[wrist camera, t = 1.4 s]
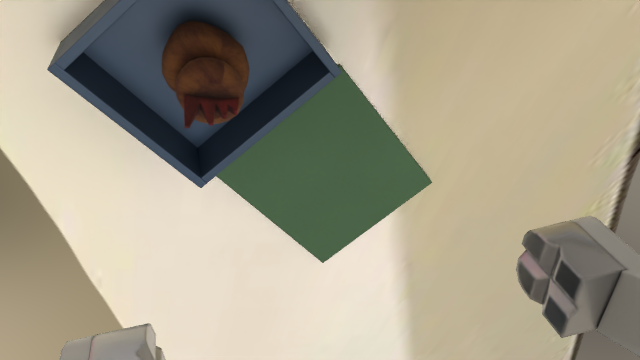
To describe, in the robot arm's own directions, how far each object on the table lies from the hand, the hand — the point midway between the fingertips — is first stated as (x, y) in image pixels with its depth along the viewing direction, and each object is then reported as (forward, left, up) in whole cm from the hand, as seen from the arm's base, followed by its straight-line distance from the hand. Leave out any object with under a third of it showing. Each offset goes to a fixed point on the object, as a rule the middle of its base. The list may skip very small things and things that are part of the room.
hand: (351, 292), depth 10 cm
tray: (+6, +5, -37) cm, 38 cm away
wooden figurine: (+6, +5, -37) cm, 37 cm away
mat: (+6, +25, -37) cm, 45 cm away
